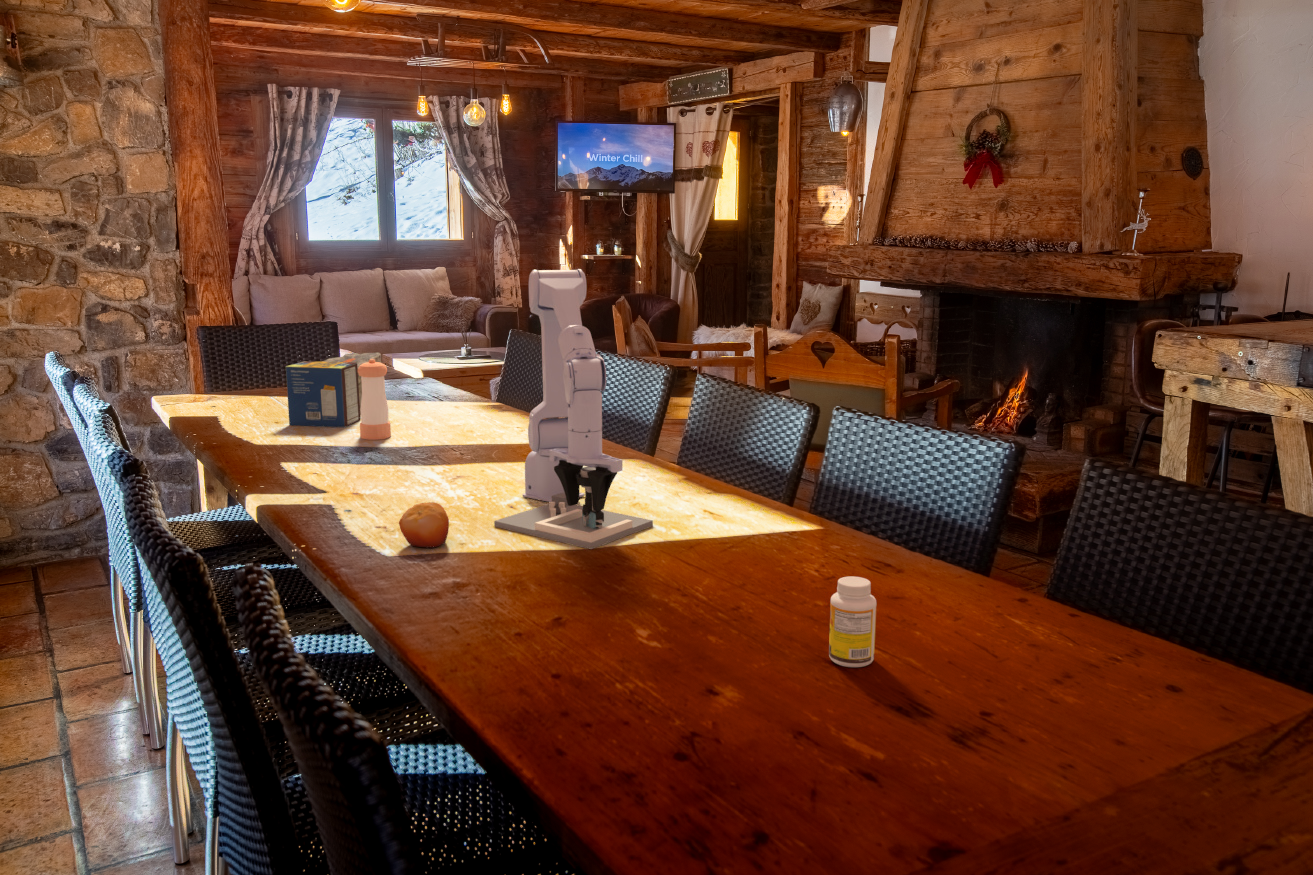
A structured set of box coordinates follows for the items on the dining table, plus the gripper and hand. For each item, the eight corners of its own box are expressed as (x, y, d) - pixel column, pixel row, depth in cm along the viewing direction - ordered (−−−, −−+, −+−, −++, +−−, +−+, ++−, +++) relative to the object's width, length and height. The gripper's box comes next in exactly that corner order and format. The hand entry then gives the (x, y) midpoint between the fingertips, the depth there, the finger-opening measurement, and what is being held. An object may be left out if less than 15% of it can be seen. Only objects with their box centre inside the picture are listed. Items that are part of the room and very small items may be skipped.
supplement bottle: (842, 647, 138) (846, 570, 136) (882, 659, 134) (886, 580, 132) (819, 660, 134) (822, 581, 132) (859, 673, 130) (863, 592, 128)
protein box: (306, 418, 290) (302, 360, 287) (361, 420, 288) (358, 362, 285) (288, 425, 280) (284, 366, 277) (344, 427, 278) (341, 367, 275)
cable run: (542, 517, 193) (542, 508, 193) (554, 500, 204) (553, 492, 204) (565, 517, 193) (565, 508, 192) (575, 501, 204) (575, 492, 203)
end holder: (534, 529, 185) (534, 522, 185) (577, 515, 194) (577, 508, 194) (590, 542, 178) (590, 535, 178) (632, 527, 187) (632, 520, 187)
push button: (615, 528, 186) (615, 472, 183) (587, 533, 183) (586, 476, 181) (599, 518, 191) (598, 463, 189) (572, 523, 189) (570, 467, 187)
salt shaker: (397, 436, 268) (393, 358, 264) (375, 441, 262) (371, 362, 258) (376, 432, 271) (372, 356, 268) (354, 437, 265) (349, 359, 262)
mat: (494, 526, 191) (494, 520, 190) (558, 506, 204) (558, 500, 204) (591, 549, 178) (591, 543, 178) (652, 525, 191) (652, 520, 191)
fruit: (464, 529, 184) (451, 495, 179) (445, 564, 178) (430, 530, 173) (422, 524, 186) (408, 491, 181) (402, 558, 181) (386, 525, 176)
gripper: (537, 427, 184) (538, 505, 187) (603, 438, 176) (604, 519, 178) (564, 421, 190) (565, 496, 192) (630, 431, 181) (630, 510, 184)
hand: (585, 507), depth 186 cm, fingers closed on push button, 5 cm apart
